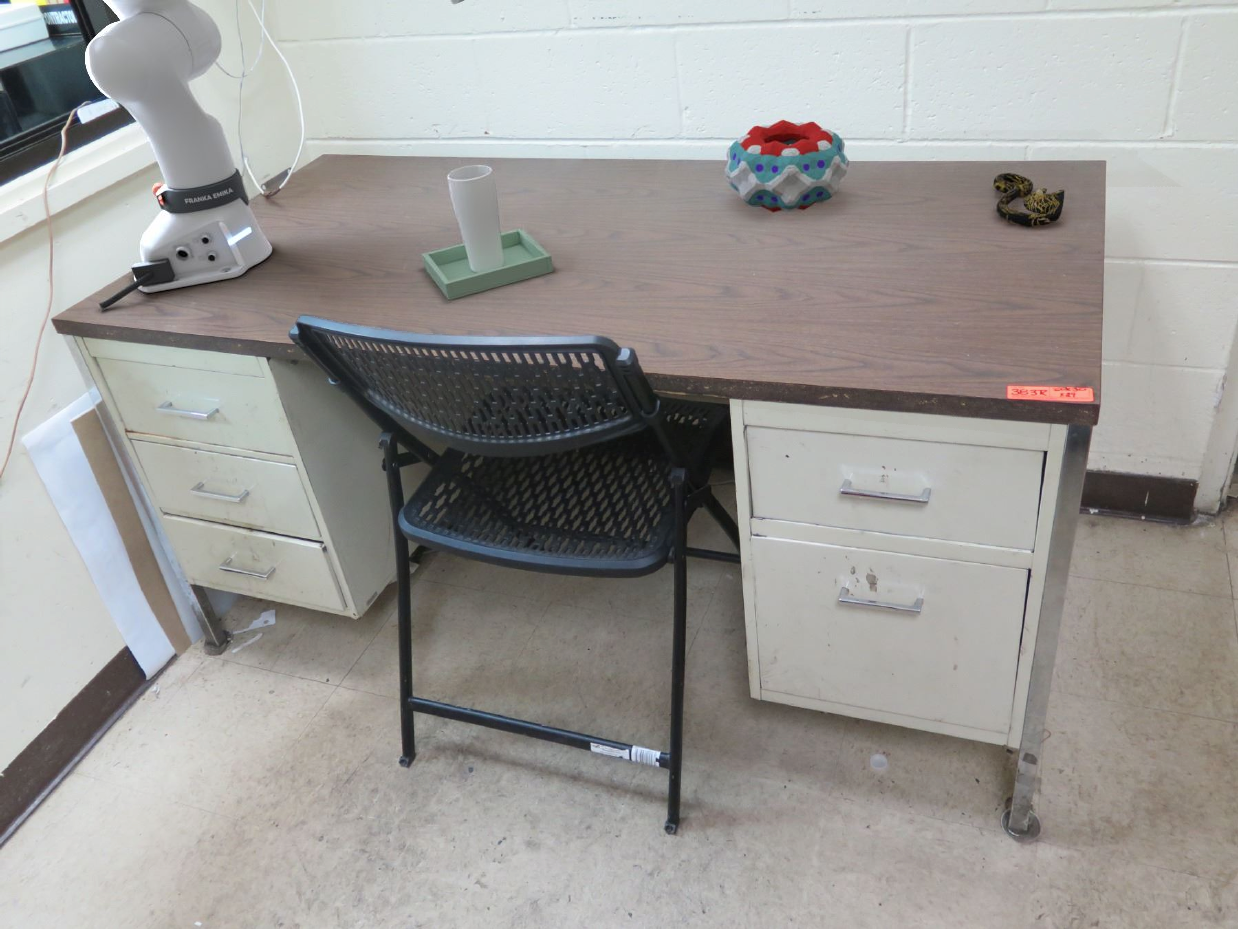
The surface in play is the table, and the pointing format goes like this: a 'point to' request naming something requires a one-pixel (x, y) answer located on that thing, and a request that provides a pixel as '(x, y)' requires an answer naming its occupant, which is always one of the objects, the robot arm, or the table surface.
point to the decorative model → (786, 165)
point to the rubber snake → (1027, 201)
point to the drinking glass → (477, 215)
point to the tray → (460, 280)
